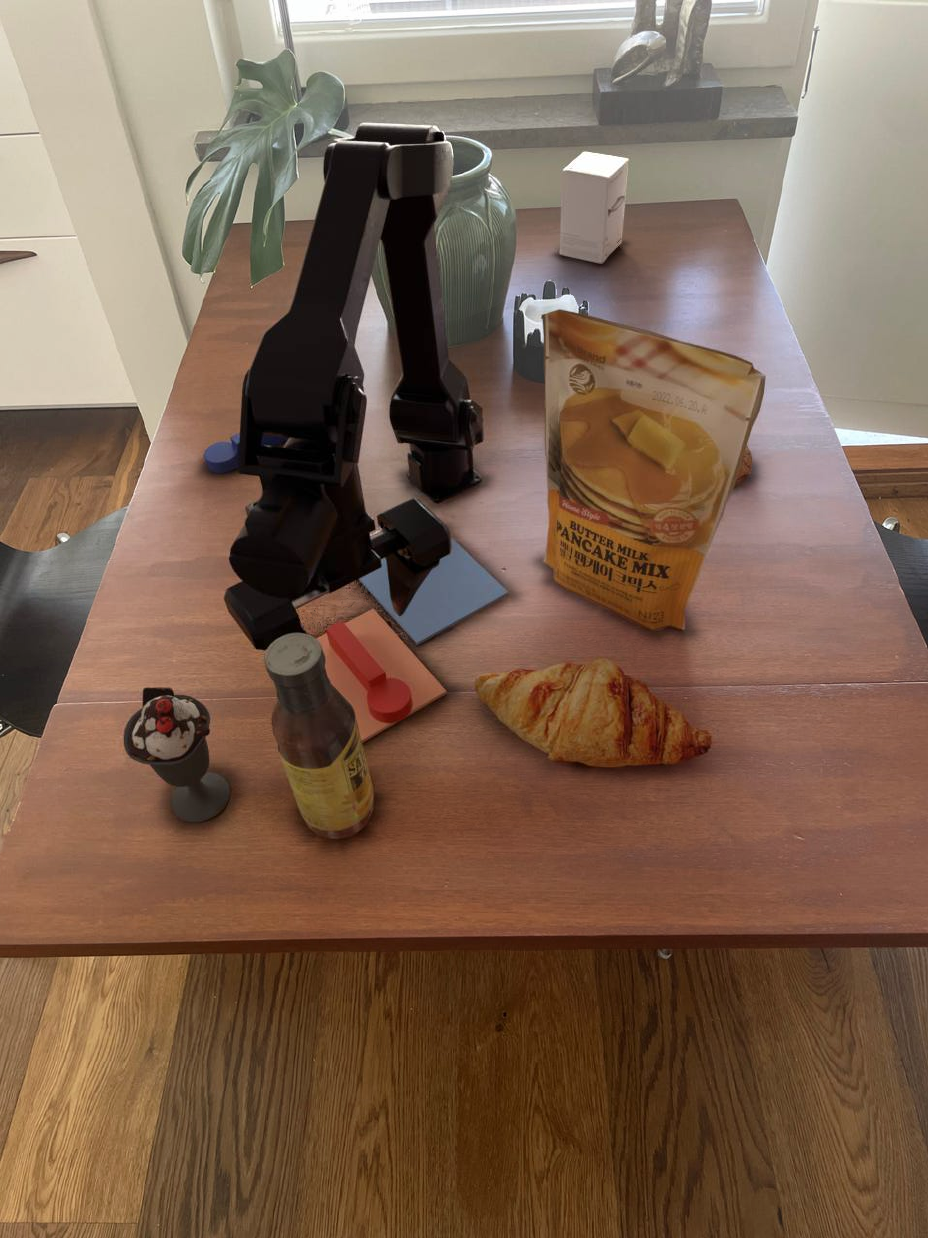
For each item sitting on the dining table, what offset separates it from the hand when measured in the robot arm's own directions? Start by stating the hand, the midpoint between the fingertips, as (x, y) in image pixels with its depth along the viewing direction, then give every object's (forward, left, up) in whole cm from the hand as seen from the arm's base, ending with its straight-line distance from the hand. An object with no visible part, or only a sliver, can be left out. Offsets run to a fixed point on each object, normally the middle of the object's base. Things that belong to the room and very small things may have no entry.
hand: (355, 636), depth 82 cm
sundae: (+18, +3, -6) cm, 19 cm away
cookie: (-47, -3, -6) cm, 48 cm away
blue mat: (-12, -6, -6) cm, 14 cm away
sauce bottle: (+9, +11, -6) cm, 15 cm away
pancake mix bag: (-26, +6, -6) cm, 27 cm away
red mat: (0, 0, -6) cm, 6 cm away
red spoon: (0, 0, -5) cm, 5 cm away
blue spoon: (-8, -38, -6) cm, 39 cm away
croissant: (-13, +17, -6) cm, 22 cm away
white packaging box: (-70, -50, -6) cm, 86 cm away
